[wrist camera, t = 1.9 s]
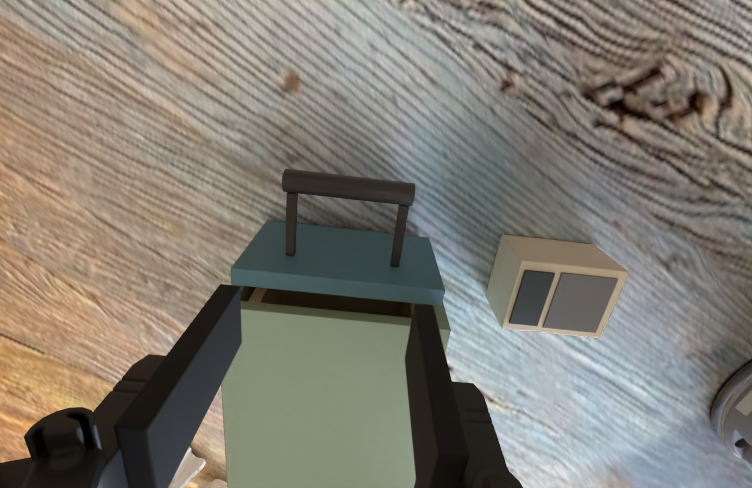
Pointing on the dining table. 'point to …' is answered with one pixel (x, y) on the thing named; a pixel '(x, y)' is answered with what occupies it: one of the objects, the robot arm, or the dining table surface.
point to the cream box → (553, 286)
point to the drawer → (341, 254)
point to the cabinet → (319, 399)
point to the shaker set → (192, 473)
